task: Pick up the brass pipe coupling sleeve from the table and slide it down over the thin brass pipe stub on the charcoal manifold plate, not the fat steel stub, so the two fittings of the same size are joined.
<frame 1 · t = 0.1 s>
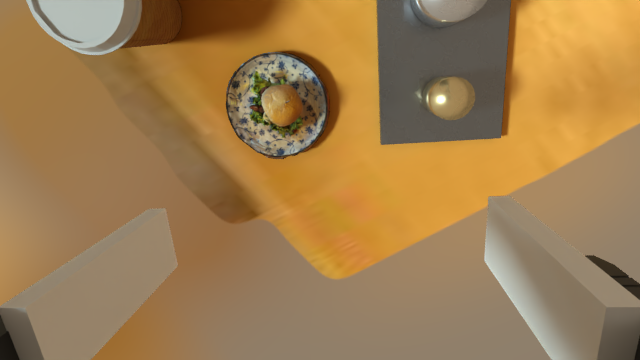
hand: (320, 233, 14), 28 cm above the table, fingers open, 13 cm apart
disposable coffee cup: (156, 15, 39), on the table
burger: (280, 105, 41), on the table
manifold plate: (439, 47, 37), on the table
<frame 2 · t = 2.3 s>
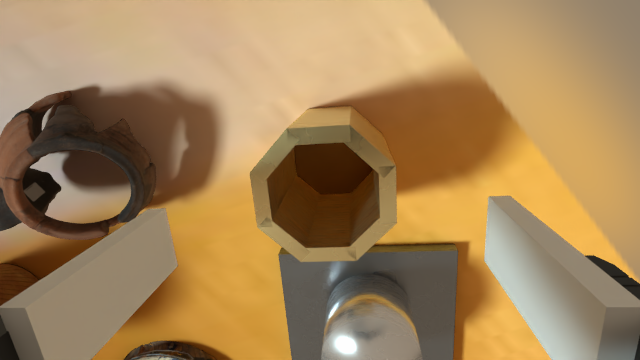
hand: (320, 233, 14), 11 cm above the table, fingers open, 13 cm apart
disposable coffee cup: (18, 293, 31), on the table
pottery mug: (96, 159, 27), on the table
sleeve: (332, 157, 25), on the table
manifold plate: (369, 352, 30), on the table
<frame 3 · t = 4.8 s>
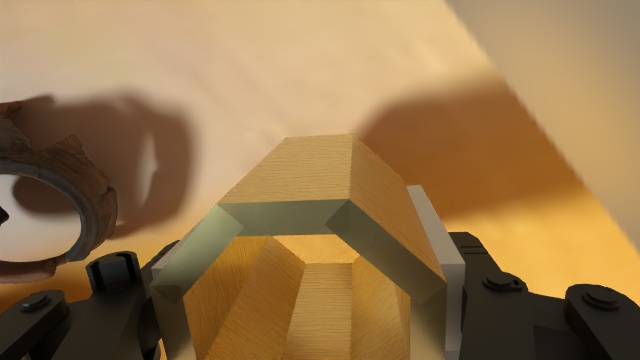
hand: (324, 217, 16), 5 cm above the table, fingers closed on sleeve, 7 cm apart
pottery mug: (51, 182, 23), on the table
sleeve: (324, 211, 16), point 4 cm above the table, touching gripper
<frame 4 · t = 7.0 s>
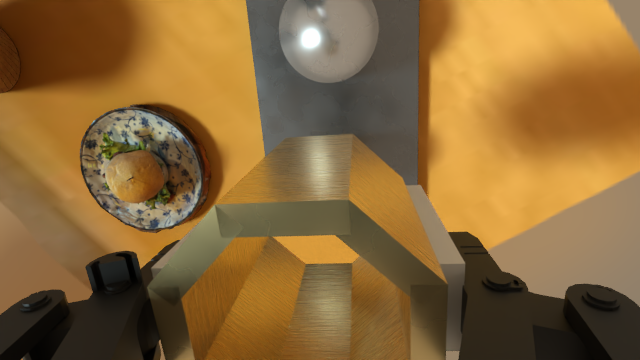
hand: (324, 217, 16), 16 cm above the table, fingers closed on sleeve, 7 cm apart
burger: (153, 167, 34), on the table
sleeve: (324, 211, 16), point 15 cm above the table, touching gripper
manifold plate: (337, 102, 30), on the table
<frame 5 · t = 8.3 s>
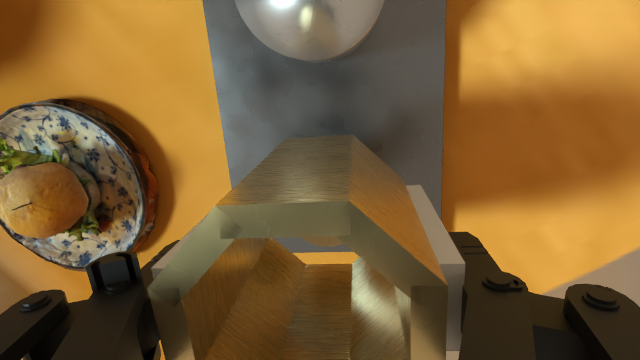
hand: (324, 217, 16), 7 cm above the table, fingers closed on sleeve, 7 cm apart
burger: (83, 184, 25), on the table
sleeve: (324, 212, 16), point 7 cm above the table, touching gripper
manifold plate: (328, 94, 21), on the table
when the fingers open (3 cm above the table, at t = 9.5 s): sleeve drops 2 cm, resting on manifold plate.
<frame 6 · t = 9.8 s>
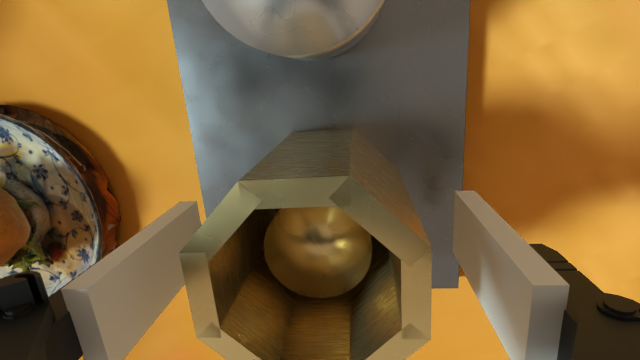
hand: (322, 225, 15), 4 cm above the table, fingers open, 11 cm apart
burger: (33, 204, 21), on the table
sleeve: (327, 199, 18), point 1 cm above the table, touching manifold plate
manifold plate: (322, 100, 17), on the table
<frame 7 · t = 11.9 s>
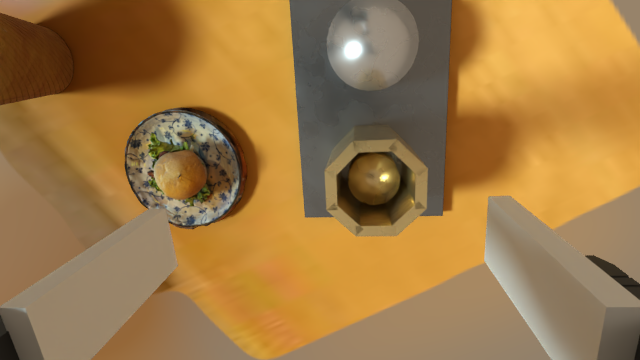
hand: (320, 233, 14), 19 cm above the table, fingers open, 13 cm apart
disposable coffee cup: (45, 61, 34), on the table
burger: (191, 167, 36), on the table
sleeve: (371, 163, 32), point 1 cm above the table, touching manifold plate
manifold plate: (370, 109, 32), on the table
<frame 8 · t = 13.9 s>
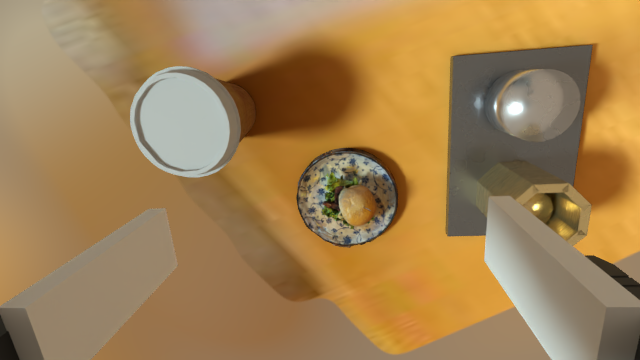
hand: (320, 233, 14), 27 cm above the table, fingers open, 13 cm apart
disposable coffee cup: (230, 111, 41), on the table
burger: (347, 195, 42), on the table
sleeve: (509, 192, 39), point 1 cm above the table, touching manifold plate
manifold plate: (509, 147, 38), on the table
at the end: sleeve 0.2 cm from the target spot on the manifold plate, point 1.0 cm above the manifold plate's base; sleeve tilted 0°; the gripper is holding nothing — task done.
